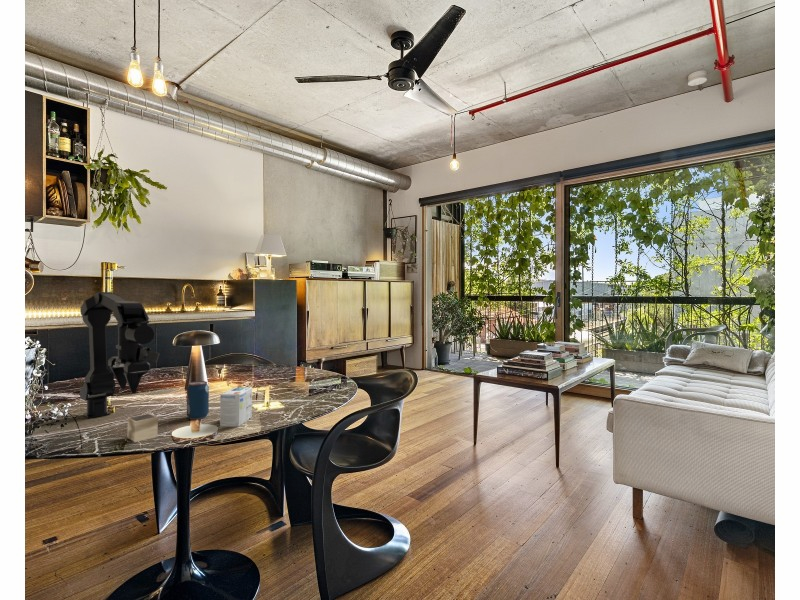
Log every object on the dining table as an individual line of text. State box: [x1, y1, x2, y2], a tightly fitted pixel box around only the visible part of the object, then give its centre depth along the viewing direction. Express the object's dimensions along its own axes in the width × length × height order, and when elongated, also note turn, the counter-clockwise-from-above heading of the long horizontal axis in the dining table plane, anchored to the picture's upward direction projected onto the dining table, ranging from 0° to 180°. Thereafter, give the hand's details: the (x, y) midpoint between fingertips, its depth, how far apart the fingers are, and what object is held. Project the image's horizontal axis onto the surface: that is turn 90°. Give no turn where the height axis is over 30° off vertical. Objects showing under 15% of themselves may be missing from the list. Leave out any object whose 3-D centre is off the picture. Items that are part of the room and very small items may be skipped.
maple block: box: [126, 412, 159, 443], centre depth 121 cm, size 6×6×6 cm
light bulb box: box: [219, 386, 253, 428], centre depth 137 cm, size 11×7×11 cm, turn 178°
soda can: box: [186, 380, 210, 420], centre depth 142 cm, size 7×7×12 cm
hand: (128, 390), depth 129 cm, fingers open, 9 cm apart
